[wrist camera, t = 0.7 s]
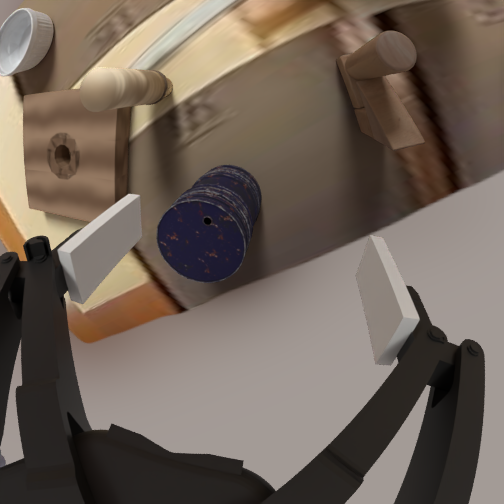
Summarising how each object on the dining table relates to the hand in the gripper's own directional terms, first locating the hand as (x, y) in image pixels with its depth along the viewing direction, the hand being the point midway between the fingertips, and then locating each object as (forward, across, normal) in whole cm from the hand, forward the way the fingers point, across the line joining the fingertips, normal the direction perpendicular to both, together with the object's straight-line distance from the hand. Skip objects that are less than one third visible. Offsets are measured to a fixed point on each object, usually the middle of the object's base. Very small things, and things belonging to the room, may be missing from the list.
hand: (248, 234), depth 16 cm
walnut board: (+26, -34, -3) cm, 43 cm away
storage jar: (+26, -6, -8) cm, 28 cm away
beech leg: (+26, -17, +7) cm, 32 cm away
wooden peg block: (+27, +10, +10) cm, 30 cm away
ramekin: (+27, -47, +20) cm, 57 cm away
